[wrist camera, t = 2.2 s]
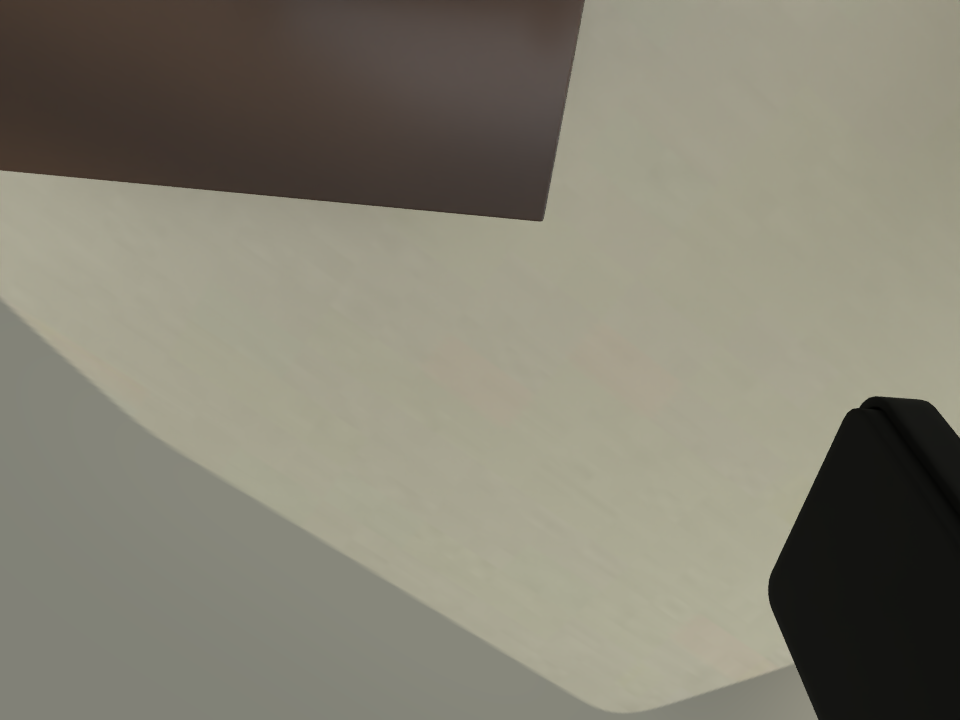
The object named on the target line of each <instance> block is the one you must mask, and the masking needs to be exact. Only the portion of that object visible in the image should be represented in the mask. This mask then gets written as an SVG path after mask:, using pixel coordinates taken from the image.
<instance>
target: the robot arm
mask: <svg viewBox="0 0 960 720" xmlns="http://www.w3.org/2000/svg"><path fill="white" fill-rule="evenodd" d="M768 595H769V601H770V605H771V608H772V611H773V613H774V616H775V618H776V620H777V623H778V625H779V627H780V630H781V632H782V634H783V637H784V639H785V642H786V644H787V646H788V649H789V651H790V653H791V656H792V658H793V661H794V663H795V665H796V668H797V670H798V672H799V675H800V677H801V679H802V682H803V684H804V687H805V689H806V691H807V694H808V696H809V698H810V701H811V703H812V705H813V707H814V710H815V712H816V715H817V717H818V720H960V438H959V437H958V435H957V434H956V433H955V432H954V430H953V429H952V428H951V427H950V425H949V424H948V423H947V422H946V421H945V419H944V418H943V417H942V416H941V414H940V413H939V412H938V411H937V409H936V408H935V407H934V406H933V405H931V404H930V403H929V402H927V401H924V400H918V399H905V398H892V397H878V396H875V397H871V398H868V399H867V400H866V401H864V402H863V403H862V405H861V406H860V408H856V409H852V410H851V411H849V412H848V413H847V414H846V416H845V418H844V419H843V421H842V423H841V426H840V428H839V430H838V432H837V434H836V436H835V438H834V441H833V443H832V445H831V447H830V449H829V451H828V453H827V455H826V458H825V460H824V462H823V464H822V466H821V468H820V470H819V472H818V475H817V477H816V479H815V481H814V483H813V485H812V487H811V490H810V492H809V494H808V496H807V498H806V500H805V502H804V504H803V507H802V509H801V511H800V513H799V515H798V517H797V519H796V521H795V524H794V526H793V528H792V530H791V532H790V534H789V536H788V539H787V541H786V543H785V545H784V547H783V549H782V551H781V553H780V556H779V558H778V560H777V562H776V564H775V566H774V568H773V570H772V573H771V576H770V579H769V585H768Z"/></svg>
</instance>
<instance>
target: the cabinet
mask: <svg viewBox="0 0 960 720" xmlns="http://www.w3.org/2000/svg"><path fill="white" fill-rule="evenodd" d="M584 2H585V0H0V170H3V171H13V172H24V173H35V174H45V175H56V176H66V177H77V178H87V179H98V180H108V181H119V182H129V183H140V184H151V185H161V186H172V187H182V188H193V189H203V190H214V191H224V192H235V193H245V194H256V195H267V196H277V197H288V198H298V199H309V200H319V201H330V202H340V203H351V204H361V205H372V206H383V207H393V208H404V209H414V210H425V211H435V212H446V213H456V214H467V215H477V216H488V217H499V218H509V219H520V220H530V221H543V219H544V214H545V209H546V204H547V198H548V193H549V188H550V183H551V177H552V172H553V167H554V161H555V156H556V151H557V145H558V140H559V135H560V129H561V124H562V119H563V113H564V108H565V103H566V98H567V92H568V87H569V82H570V76H571V71H572V66H573V60H574V55H575V50H576V44H577V39H578V34H579V28H580V23H581V18H582V12H583V7H584Z"/></svg>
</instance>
